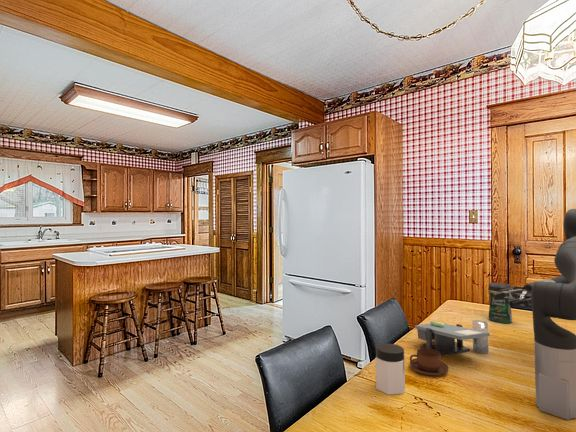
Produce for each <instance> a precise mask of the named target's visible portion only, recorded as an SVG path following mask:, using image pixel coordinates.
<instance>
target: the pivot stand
mask: <svg viewBox="0 0 576 432" xmlns="http://www.w3.org/2000/svg"><path fill="white" fill-rule="evenodd" d="M455 326H459V327H463V325H462V324H460V323H457V324H456V325H455ZM434 337H435V340H434V344H433V340H432V329H430V328H426V341H425V342H426V345H421V346H420V348H419V349H421V348H429V349H434V350H437V351H439V352H440V356H441V357H442V356H449V355H455V354H456V355H457V354H463V353H469V352H471V348H470V347H468V346H465V345H464V340H459V339H455V338H451V337H447V336H443V335H439V334H435V333H434Z"/></svg>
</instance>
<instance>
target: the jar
mask: <svg viewBox="0 0 576 432" xmlns="http://www.w3.org/2000/svg"><path fill="white" fill-rule="evenodd" d="M374 359H375V388H376V390H378V391H380V392H382V393H384V394H385V395H389V396H390V395H403V394H404V391H405V388H406V376H405V375H406V373H405V372H406V371H405V349H404V348H403V346H401V345H399V344H396V343H387V342H386V343H379V344H377V345H376V346H375V358H374Z"/></svg>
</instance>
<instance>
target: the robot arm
mask: <svg viewBox="0 0 576 432" xmlns="http://www.w3.org/2000/svg"><path fill="white" fill-rule="evenodd" d="M563 232H564V237H565V241H563V242H561V244H560V245H559V246H558V249H557V250H556V253H555V256H554V265H555V267H556V270H557V271H558V272H559V273H560V275H559V276H556V277H553V278H548V279H541V280H537V281H534V282H533V281H532V282H529V283H526V284H524V285H523V287H522V288H516V287H515V286H511V288H506V289H502V290H500V293H497V294H494V295H493V298H494V300H499V299H503V298H510V301H508V304H509V306H510V307H511V308H513V307H517V306H521V307H523V306H525V307H527V308H529V307H531V311H532V325H533V327H532V328H533V339H534V342H533V346H534V377H535V378H534V383H535V384H534V385H535V404H536V406H537V407H538V410H539V411H540V412H543V413H547V414H548V415H553V416H556V417H559V418H561V419H563V420H567V421H569V420H570V419H576V333H574V332H573V331H570V330H567V329H566V328H564V327H563V326H560V325H559V324H557V323H556V322H555V321H554V320H553V319H558V320H559V319H560V320H565V321H576V208H570V209H568V210H567V211H566V212H565V214H564V217H563ZM505 293H506V294H505ZM508 295H509V296H508ZM552 318H553V319H552Z"/></svg>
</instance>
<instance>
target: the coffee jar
mask: <svg viewBox="0 0 576 432" xmlns="http://www.w3.org/2000/svg"><path fill="white" fill-rule="evenodd" d="M511 287H512V286H511V284H510V283H503V282H502V283H501V282H489V284H488V290H487V291H488V294H489V309H488V320H489V321H492V322H495V323H501V324H511V323H513V315H512V307H510V306H509V304H508V301H510V300H511V299H510V298H503V299H499V300H494V298H493V295H494V294H497V293H500V290H502V289H506V288H511ZM505 294H506V293H505ZM508 296H509V295H508Z"/></svg>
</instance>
